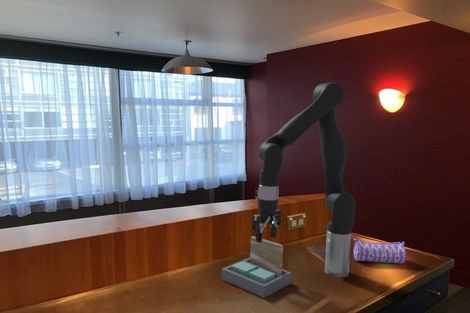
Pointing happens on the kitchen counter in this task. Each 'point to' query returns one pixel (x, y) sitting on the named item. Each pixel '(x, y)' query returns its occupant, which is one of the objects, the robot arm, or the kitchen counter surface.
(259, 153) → the robot arm
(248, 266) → the offcut
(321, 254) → the wooden tablet
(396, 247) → the pencil case
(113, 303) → the kitchen counter surface
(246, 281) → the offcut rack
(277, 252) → the birch sheet
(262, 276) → the offcut
